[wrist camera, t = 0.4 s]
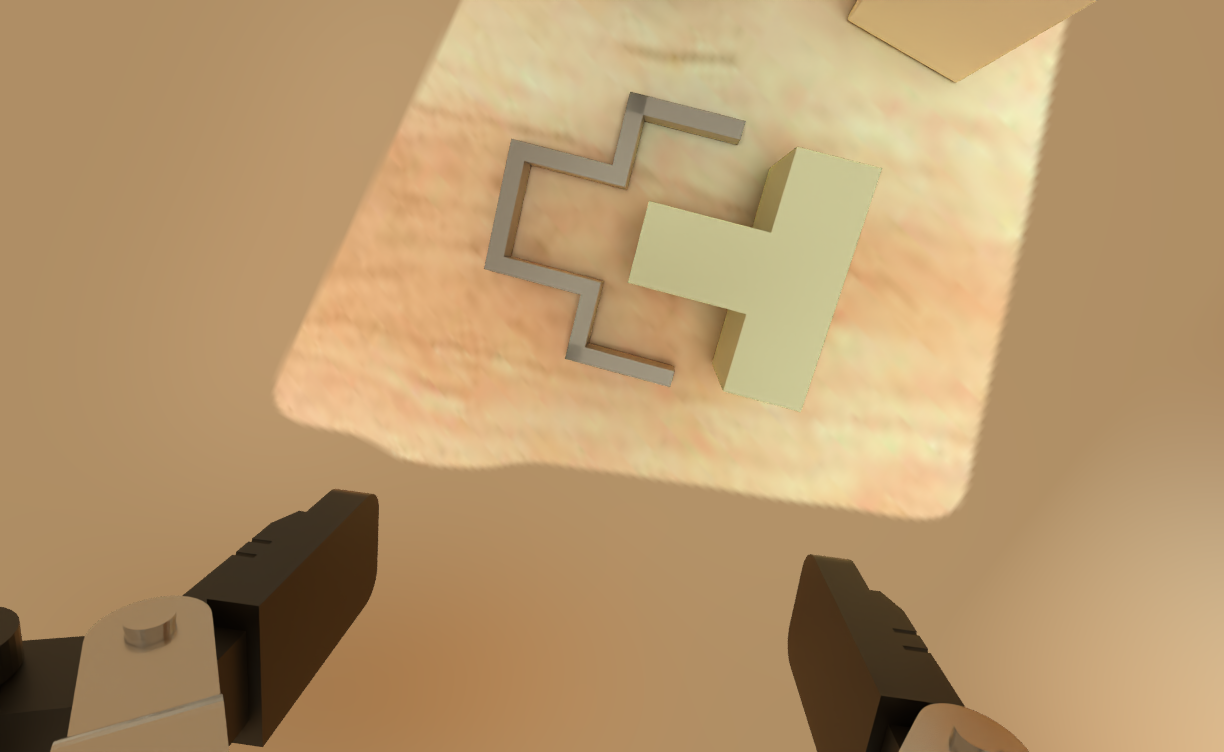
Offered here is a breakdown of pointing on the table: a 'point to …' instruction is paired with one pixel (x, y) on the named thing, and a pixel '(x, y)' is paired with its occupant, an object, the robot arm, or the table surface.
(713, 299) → the t block
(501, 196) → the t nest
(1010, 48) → the milk carton
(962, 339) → the table surface
